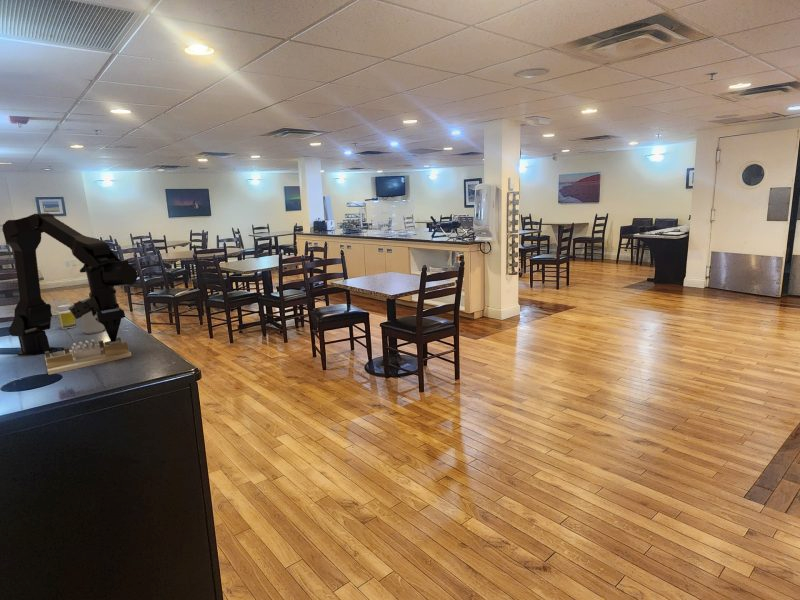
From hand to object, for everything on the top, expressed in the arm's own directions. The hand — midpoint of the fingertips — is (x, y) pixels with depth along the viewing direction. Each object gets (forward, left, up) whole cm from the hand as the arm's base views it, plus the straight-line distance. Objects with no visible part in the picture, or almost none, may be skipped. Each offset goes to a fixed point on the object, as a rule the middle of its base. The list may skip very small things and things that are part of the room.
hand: (113, 341), depth 135 cm
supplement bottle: (-45, +35, -4) cm, 57 cm away
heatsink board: (-7, -2, -4) cm, 9 cm away
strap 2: (-3, +3, -2) cm, 4 cm away
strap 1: (-12, -7, -2) cm, 14 cm away
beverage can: (-28, +27, -4) cm, 39 cm away
